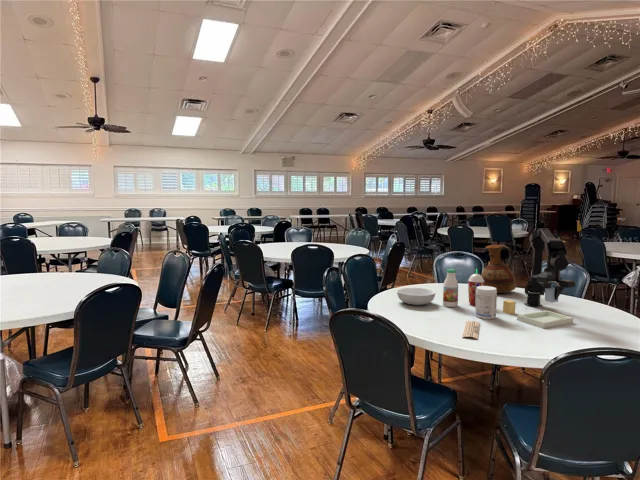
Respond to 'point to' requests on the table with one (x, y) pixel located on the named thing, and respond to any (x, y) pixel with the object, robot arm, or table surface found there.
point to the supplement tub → (486, 302)
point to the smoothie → (474, 287)
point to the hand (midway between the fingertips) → (551, 298)
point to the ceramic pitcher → (499, 270)
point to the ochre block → (509, 306)
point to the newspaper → (471, 329)
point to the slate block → (550, 295)
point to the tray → (545, 319)
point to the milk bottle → (450, 289)
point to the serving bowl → (416, 295)
